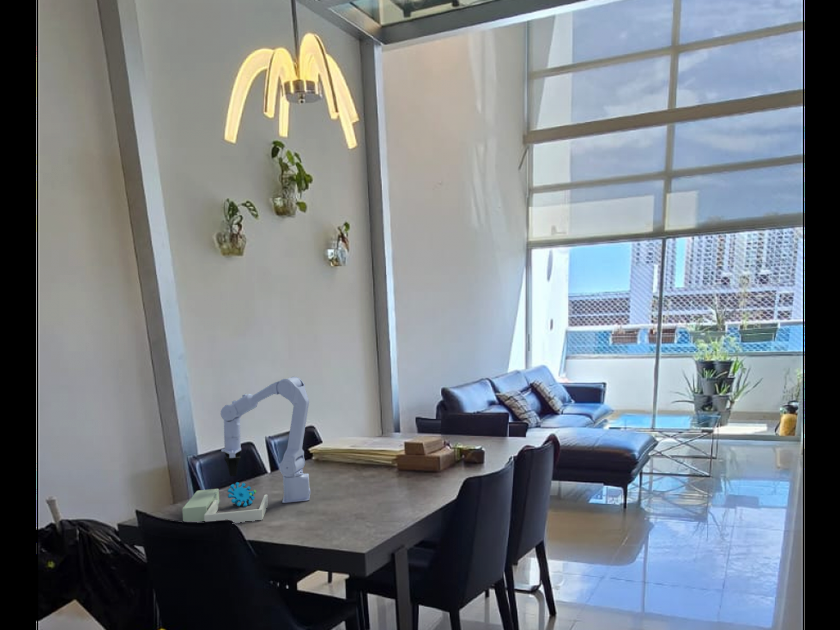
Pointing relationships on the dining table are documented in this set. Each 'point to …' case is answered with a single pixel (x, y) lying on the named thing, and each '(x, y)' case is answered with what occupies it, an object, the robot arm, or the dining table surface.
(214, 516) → the shallow white tray
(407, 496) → the dining table surface
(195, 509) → the pale green rounded block
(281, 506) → the dining table surface
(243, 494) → the gear
